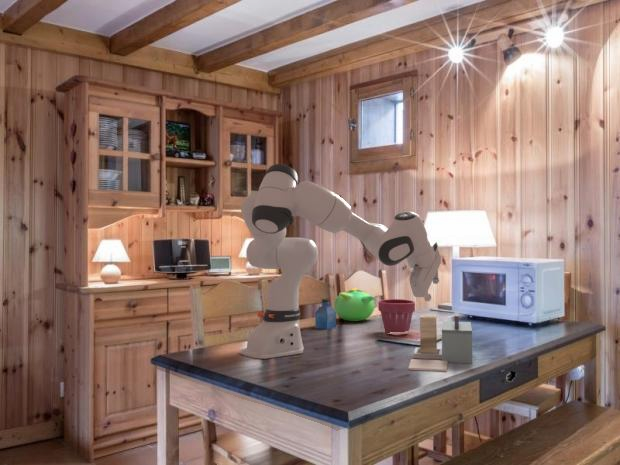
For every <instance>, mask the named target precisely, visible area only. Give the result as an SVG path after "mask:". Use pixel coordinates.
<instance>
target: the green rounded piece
mask: <svg viewBox="0 0 620 465" xmlns="http://www.w3.org/2000/svg"><path fill="white" fill-rule="evenodd" d="M338 294H339V295H337V296H336V298H335V300H334V304H333V305H334V306H333V307H334V310H335V312H336V315H337V316H338V317H339V318H340V319H342V320H345V321H349V322H360V321H363V320H366V319H368V318H370V317H371V316H372V314H373V312H374V311H375V301H374V300H375V299H376V296H375V295H370V294H369V293H368V292H366V291H363V290H359V289H358V288H357V287H353V288H350V289H349V290H346V291H342V292H339V293H338Z"/></svg>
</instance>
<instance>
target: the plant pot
mask: <svg viewBox="0 0 620 465" xmlns="http://www.w3.org/2000/svg"><path fill="white" fill-rule="evenodd" d="M377 302H378V303H377V304H378V306H377V308H378V311H379V312H380V315H381V320H382V323H383V328H384V333H385V334H386V333H390V332H405V331H409V332H410V327H411V324H412V317H413V313H414V312H415V311H416V301H414V300H410V299H402V298H401V299H399V298H398V299H397V298H390V299H389V298H387V299H381V300H378V301H377Z"/></svg>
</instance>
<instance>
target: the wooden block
mask: <svg viewBox="0 0 620 465" xmlns="http://www.w3.org/2000/svg"><path fill="white" fill-rule="evenodd" d="M437 333H438V332H437V315H436V314H420V316H419V335H420V336H419V337H420V338H419V340H420V342H419V345H420V347H419V348H420V353H429V354H437V348H438V347H437V346H438V344H437V343H438V342H437V341H438V339H437V338H438V337H437Z"/></svg>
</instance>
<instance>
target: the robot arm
mask: <svg viewBox="0 0 620 465" xmlns="http://www.w3.org/2000/svg"><path fill="white" fill-rule="evenodd" d="M240 212H241V215H242V216H241V217H242V219H243V221H244V223H245V224H244V225H246V228H247V229H248V231H249V233H250V234H251V236H252V238H253V239H252V240H251V241H250V242H249V243H248V245H247V248H246V251H245V253H246V254H245V255H246V259H247V262H248V263H249V264H250V266H251V267H255V268H258V269H263V270H281V274H280V277H279V278H277V279H275V280H272V282H269V284H268V286H267V288H266V309H265V311H261V310H259V311H258V312H257V313H256V314H257V317H258V318H262V322H260V323H259V324H258V325H257V327H255V329H253V331H251V332H250V333H249V335H248V337H247V340H246V348H242V349H240V351H239V353H240V354H241V355H242V354H243V355H242V356H245V357H249V358H252V359H253V358H254V359H264V360H265V359H273V358H279V357H286V356H291V355H299V354H304V353H303V352H304V350H305V347H304V344H303V339H302V334H301V327H300V319H301V309H300V306H299V303H300V302H299V301H300V300H299V298H300V297H299V296H300V286H301V283H302V280H303V278H304V277H305V274H306V273H307V272H308V271H309V270H310V269H311V268H312V267H314V266H315V264H316V263H317V260H318V259H319V258H318V257H319V249H318V246H317V244H316V243H315V241H314V240H313V239H309V238H304V237H286V235H287V227H288V226H291V225H293V224H294V223H295V219H294V217H301V218H303V219H305V220H307V221H308V222H309V223H311V224H312V225H315V226H316V227H318V228H320V229H322V230H324V231H327V232H329V233H332V234H336V233H339V232H341V231H344V232H346V234H347V233H348V234H349V235H351V236H352V237H354V238H356V239H357V240H359V241H360V243H361V245H362V247H363V248H364V249H365V250H366V251H367V252H368V253H370V254H371V255H372V256H373V257H375V258H376V259H377V260H378V261H380V262H381V263H382V264H384V265H386V266H389V267H390V266H396V265H399V264H400V263H402V262H403V261H404V260H406V262H407V264H408V267H410V268H411V269H412V270H411V272H410V276H409V279H408V280H409V285H410V289H411V291H412V296H414V298H423V299H424V301H425V302H431V299H432V295H431V293H429V292H428V291H429V289H430V287H431V284H432V283H433V285H436V284H437V285H438V284H439V282H440V278H439V268H440V265H441V263H442V258H441V254H440V251H439V248H438V247H439V246H438V243H437V241H429V240H428V239H429V238H428V233H427V230H426V227H425V225H424V222H423V220H422V218H421V217H420V215H419V214H418V213H415V212H414V211H402V212H399V213H397V214H396V215H395V216H394V218H393V220H392V223H390V224H391V225H389V227H388V226H386V225H384V224H382V223H381V224H380V223H374V222H373V223H372V222H368V221H366V220H365V219H364V218H362V217H360V216H358V215H357V214H355V213H354V212H353V211H352V206H350V204H349V203H348V202H347V201H345V199H343V198H342V197H340V196H339V195H338V194H336V192H334V191H331V190H330V189H328V188H326V187H324V186H322V185H320V184H317V183H316V182H312V181H310V180H303V181H300V182H299V176H298V173H297V171H296V170H295V169H294V168H292V167H291V166H289V165H287V164H284V163H283V164H282V163H274V164H272V165H271V166H269V167H268V169H267V170H266V171H265V173H264V175H263V177H262V181H261V183H260V185H259V187H258V191H257V192H254V193H251V194H248V195H247V196H246V197H245V198H244V199H243V200H242V202H241V205H240Z"/></svg>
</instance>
